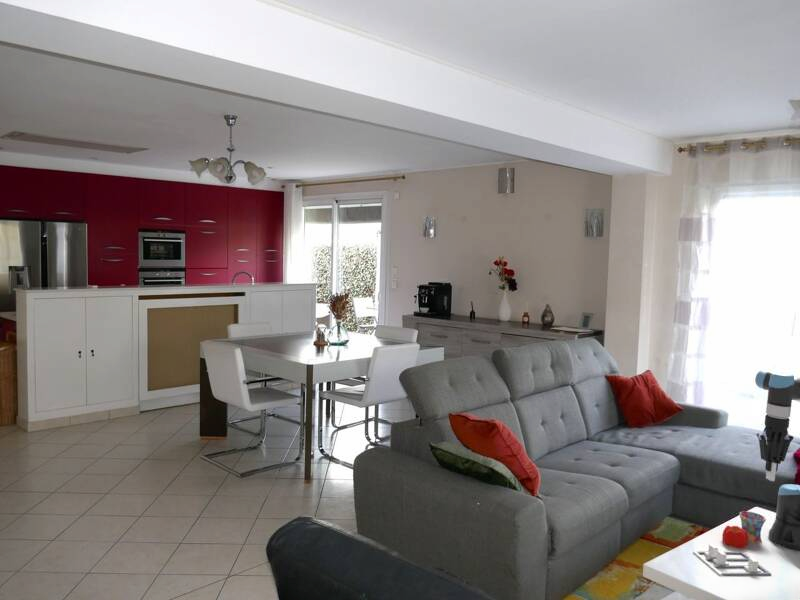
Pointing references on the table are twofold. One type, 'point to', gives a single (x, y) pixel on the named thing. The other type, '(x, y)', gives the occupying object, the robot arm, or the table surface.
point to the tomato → (735, 537)
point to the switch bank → (731, 565)
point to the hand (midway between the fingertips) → (770, 479)
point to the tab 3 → (752, 566)
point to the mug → (752, 525)
